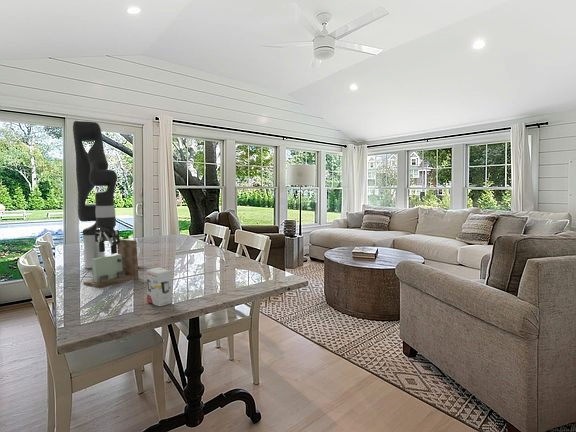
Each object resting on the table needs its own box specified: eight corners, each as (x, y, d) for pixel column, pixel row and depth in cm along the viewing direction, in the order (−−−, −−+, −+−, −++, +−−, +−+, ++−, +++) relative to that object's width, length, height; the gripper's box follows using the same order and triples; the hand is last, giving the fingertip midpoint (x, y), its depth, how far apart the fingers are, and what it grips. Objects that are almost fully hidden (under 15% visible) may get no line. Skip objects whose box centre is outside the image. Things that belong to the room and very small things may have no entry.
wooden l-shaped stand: (83, 284, 146) (80, 244, 144) (122, 274, 162) (119, 238, 160) (100, 288, 140) (97, 246, 138) (138, 277, 156) (136, 240, 154)
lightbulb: (135, 267, 175) (134, 246, 174) (125, 267, 176) (123, 246, 175) (143, 264, 181) (142, 244, 180) (132, 264, 182) (131, 244, 181)
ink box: (146, 302, 122) (144, 269, 121) (159, 298, 126) (158, 267, 125) (159, 307, 116) (157, 273, 115) (172, 303, 120) (171, 270, 119)
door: (93, 282, 145) (91, 259, 144) (119, 275, 155) (118, 253, 154) (98, 283, 143) (96, 259, 142) (124, 276, 153) (122, 254, 152)
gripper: (124, 215, 147) (126, 252, 149) (104, 214, 154) (106, 249, 156) (107, 217, 141) (109, 256, 142) (87, 216, 147) (90, 252, 149)
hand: (108, 252), depth 149 cm, fingers open, 8 cm apart
